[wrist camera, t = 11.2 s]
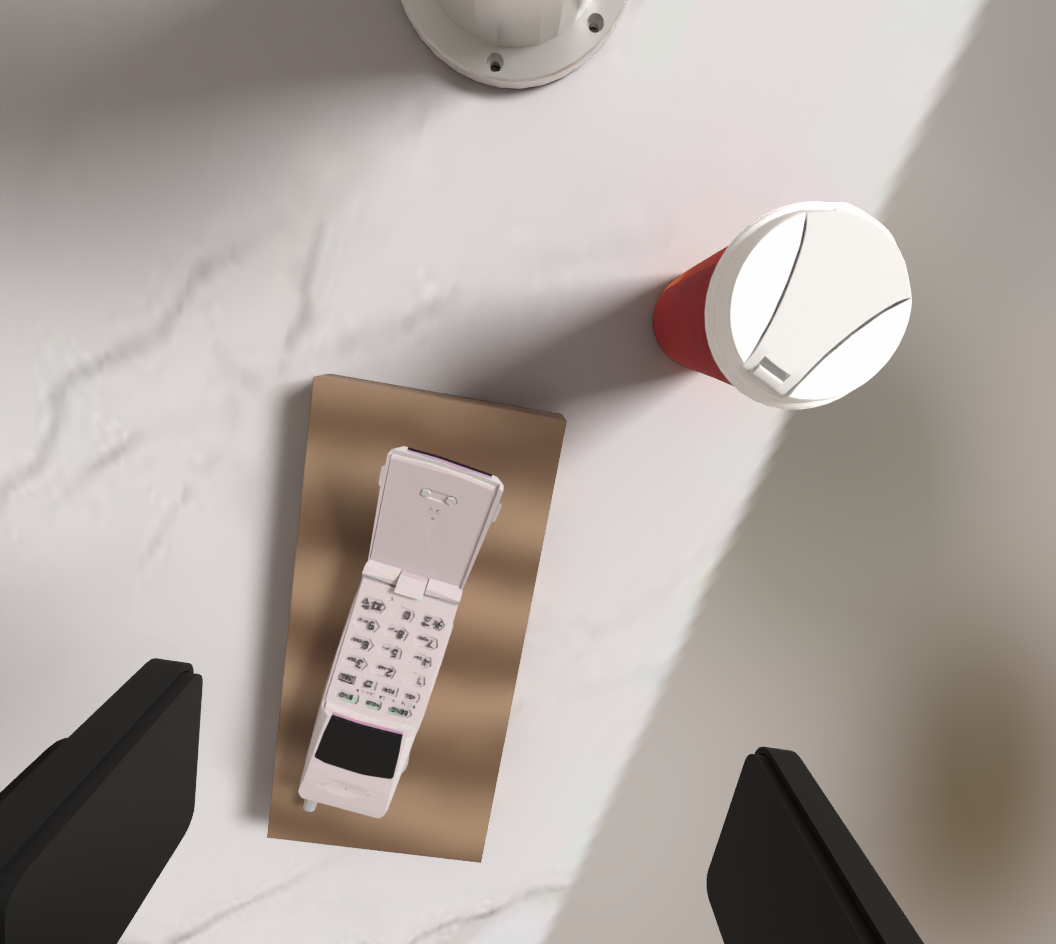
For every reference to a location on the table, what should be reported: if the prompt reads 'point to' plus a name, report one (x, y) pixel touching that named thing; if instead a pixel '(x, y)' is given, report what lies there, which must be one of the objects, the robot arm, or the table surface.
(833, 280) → the paper cup
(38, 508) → the table surface
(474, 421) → the walnut stand
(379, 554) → the mobile phone
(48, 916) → the robot arm
